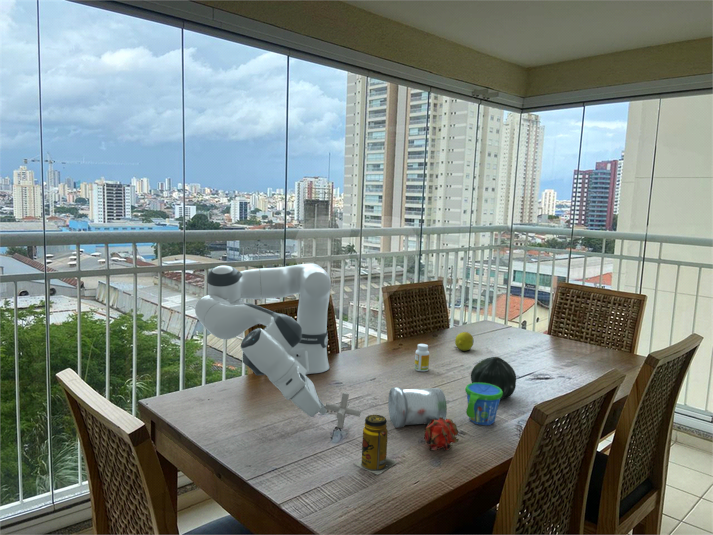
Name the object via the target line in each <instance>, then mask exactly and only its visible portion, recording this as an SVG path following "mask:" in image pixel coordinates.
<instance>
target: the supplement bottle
mask: <svg viewBox="0 0 713 535" xmlns="http://www.w3.org/2000/svg"><path fill="white" fill-rule="evenodd" d="M428 349H429V345H428V344H425V343H418V344H417V349H416V350H415V353H414V370H415V371H418V372H428V371H429V365H430V351H429V350H428Z"/></svg>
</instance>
